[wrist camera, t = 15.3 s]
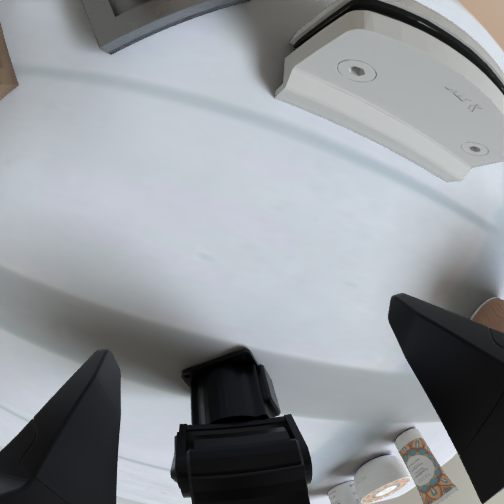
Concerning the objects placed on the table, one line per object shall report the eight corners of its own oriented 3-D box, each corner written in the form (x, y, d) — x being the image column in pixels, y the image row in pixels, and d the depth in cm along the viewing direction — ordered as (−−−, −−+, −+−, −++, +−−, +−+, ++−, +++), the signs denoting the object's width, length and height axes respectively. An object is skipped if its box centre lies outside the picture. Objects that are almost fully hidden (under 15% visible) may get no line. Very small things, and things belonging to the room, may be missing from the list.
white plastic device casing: (268, 96, 18) (350, 11, 9) (284, 41, 18) (359, -48, 8) (449, 184, 23) (548, 178, 13) (453, 135, 23) (545, 117, 13)
